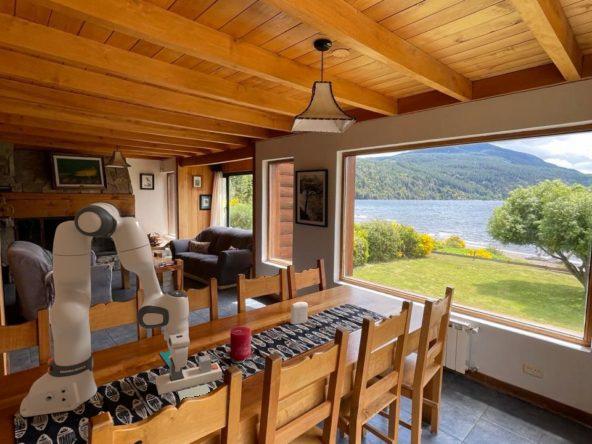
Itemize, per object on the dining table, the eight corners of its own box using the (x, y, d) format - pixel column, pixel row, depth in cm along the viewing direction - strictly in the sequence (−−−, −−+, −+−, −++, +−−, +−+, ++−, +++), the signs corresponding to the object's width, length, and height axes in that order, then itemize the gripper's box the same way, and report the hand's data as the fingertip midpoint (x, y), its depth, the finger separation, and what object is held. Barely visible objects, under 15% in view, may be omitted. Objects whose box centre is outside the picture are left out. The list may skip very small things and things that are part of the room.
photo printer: (304, 320, 201) (305, 299, 199) (308, 322, 197) (309, 302, 195) (289, 322, 196) (290, 301, 195) (292, 325, 192) (293, 304, 191)
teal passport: (169, 367, 143) (158, 352, 155) (169, 369, 143) (158, 354, 155) (186, 362, 148) (174, 348, 159) (186, 364, 148) (174, 350, 159)
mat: (181, 403, 121) (181, 402, 121) (177, 392, 127) (177, 391, 127) (211, 394, 127) (211, 394, 127) (206, 385, 133) (206, 384, 133)
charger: (171, 384, 129) (171, 362, 128) (169, 379, 132) (169, 357, 131) (182, 382, 131) (182, 360, 130) (180, 377, 134) (180, 355, 133)
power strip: (158, 394, 125) (158, 373, 124) (156, 384, 131) (156, 364, 130) (221, 378, 137) (222, 359, 136) (216, 370, 143) (217, 351, 142)
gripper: (163, 324, 137) (163, 356, 138) (172, 346, 119) (171, 382, 121) (179, 321, 140) (179, 353, 141) (190, 342, 122) (190, 378, 124)
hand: (175, 367), depth 131 cm, fingers closed on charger, 4 cm apart
